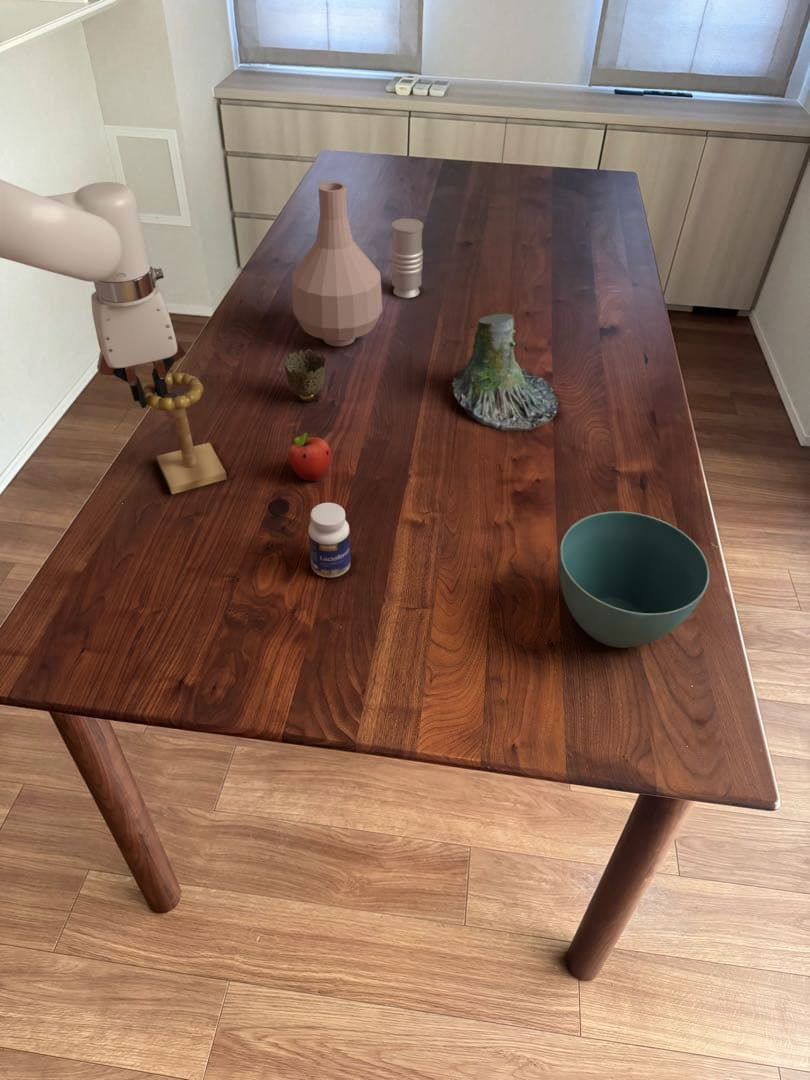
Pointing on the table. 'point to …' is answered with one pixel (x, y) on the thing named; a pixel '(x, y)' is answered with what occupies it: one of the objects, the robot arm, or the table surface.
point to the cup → (305, 374)
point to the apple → (309, 457)
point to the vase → (336, 278)
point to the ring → (175, 402)
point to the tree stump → (502, 381)
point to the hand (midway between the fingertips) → (151, 400)
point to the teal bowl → (630, 577)
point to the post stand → (189, 460)
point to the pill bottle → (329, 540)
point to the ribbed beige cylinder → (407, 257)
